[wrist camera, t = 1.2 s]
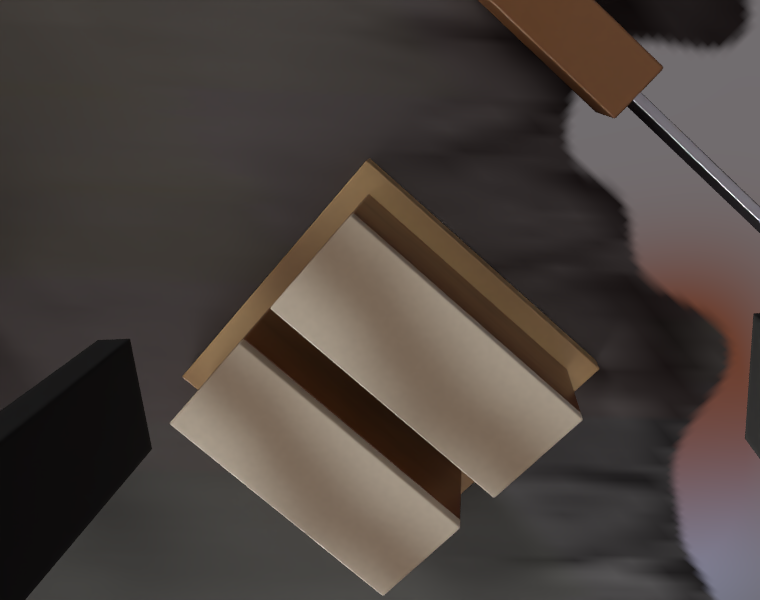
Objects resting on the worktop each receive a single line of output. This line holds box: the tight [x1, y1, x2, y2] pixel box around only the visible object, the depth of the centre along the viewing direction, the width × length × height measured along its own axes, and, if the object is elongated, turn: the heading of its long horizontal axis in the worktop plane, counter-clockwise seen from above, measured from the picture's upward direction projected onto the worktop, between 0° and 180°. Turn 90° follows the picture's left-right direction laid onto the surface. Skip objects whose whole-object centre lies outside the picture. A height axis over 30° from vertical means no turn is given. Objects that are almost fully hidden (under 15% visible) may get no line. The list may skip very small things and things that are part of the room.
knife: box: [478, 0, 760, 233], centre depth 29 cm, size 23×2×4 cm, turn 49°
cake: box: [170, 158, 599, 595], centre depth 32 cm, size 14×14×6 cm
